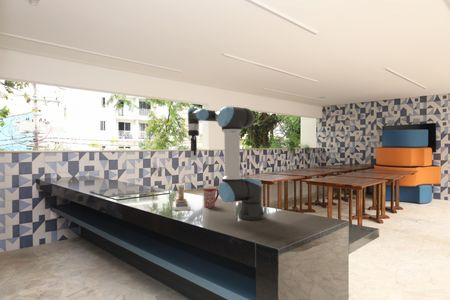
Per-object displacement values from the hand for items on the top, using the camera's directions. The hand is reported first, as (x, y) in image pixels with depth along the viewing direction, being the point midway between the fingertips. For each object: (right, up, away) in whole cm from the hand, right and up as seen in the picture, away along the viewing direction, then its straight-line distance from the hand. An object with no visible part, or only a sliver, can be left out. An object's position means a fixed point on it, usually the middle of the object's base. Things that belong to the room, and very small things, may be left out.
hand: (193, 160), depth 212 cm
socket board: (-8, -32, -4) cm, 34 cm away
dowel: (-9, -30, +2) cm, 32 cm away
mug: (+13, -33, -2) cm, 35 cm away
